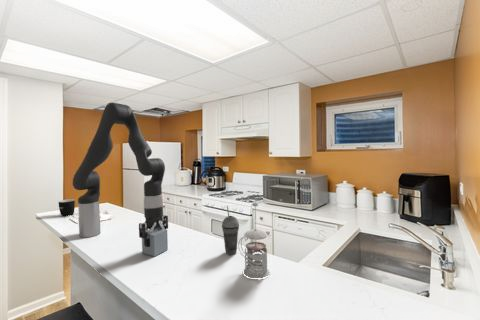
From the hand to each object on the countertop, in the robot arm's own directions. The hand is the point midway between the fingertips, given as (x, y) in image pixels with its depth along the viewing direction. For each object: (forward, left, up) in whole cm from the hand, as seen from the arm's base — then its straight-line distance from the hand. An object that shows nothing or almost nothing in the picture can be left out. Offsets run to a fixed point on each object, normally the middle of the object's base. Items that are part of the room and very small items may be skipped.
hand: (154, 243), depth 103 cm
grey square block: (0, 0, -4) cm, 4 cm away
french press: (+45, +3, -4) cm, 45 cm away
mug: (-100, +17, -4) cm, 101 cm away
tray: (-79, +20, -5) cm, 82 cm away
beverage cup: (+30, +13, -4) cm, 33 cm away
